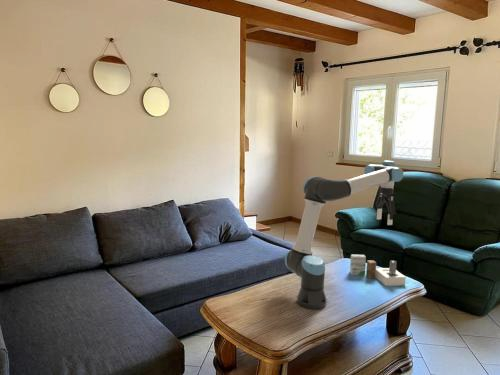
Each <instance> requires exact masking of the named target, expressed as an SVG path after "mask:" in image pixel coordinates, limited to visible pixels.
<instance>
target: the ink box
mask: <svg viewBox="0 0 500 375" xmlns="http://www.w3.org/2000/svg"><path fill="white" fill-rule="evenodd" d="M349 267H350V268H349V273H350V275H355V276H357V275H359V276H366V267H367V257H366V255H365V254H350V266H349Z"/></svg>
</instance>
